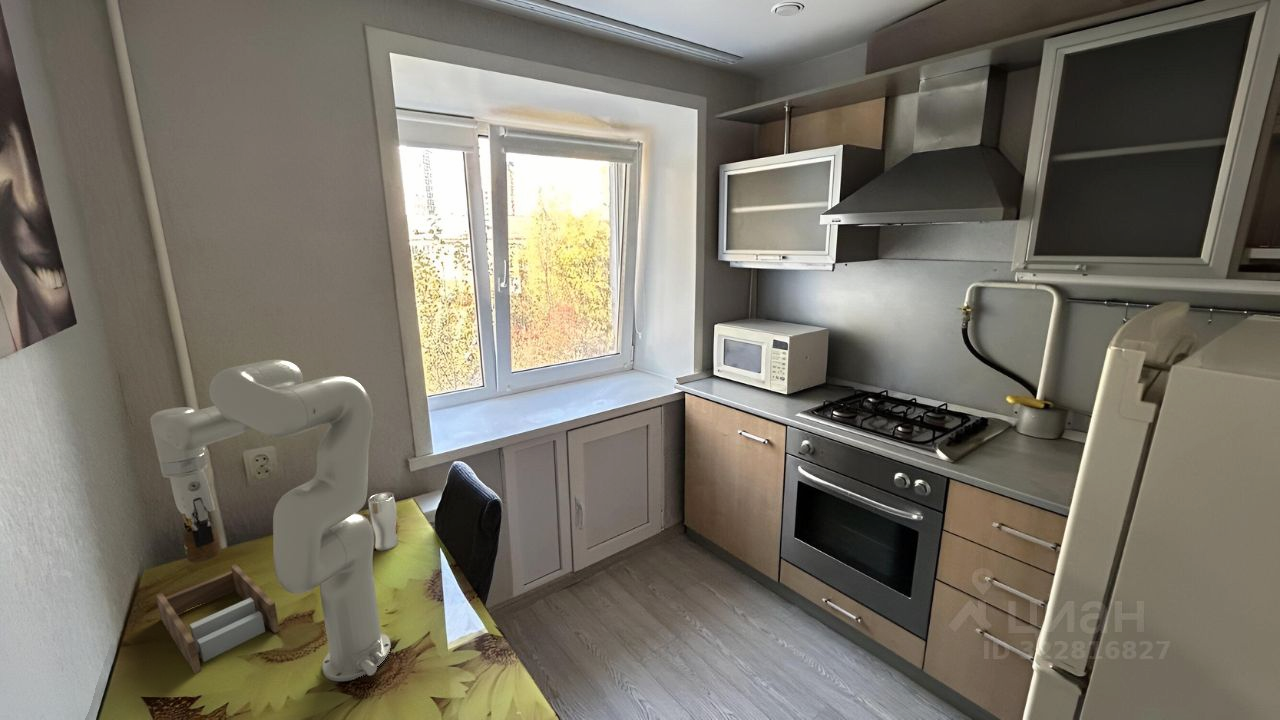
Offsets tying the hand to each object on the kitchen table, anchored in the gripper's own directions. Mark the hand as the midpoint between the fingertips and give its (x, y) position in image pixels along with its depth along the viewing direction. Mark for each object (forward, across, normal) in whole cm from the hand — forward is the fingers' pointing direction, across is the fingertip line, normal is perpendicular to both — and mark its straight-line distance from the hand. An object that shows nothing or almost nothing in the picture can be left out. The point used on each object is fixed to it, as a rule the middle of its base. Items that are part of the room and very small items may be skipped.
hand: (200, 539), depth 116 cm
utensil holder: (+4, 0, 0) cm, 4 cm away
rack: (+21, -2, 0) cm, 21 cm away
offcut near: (+21, -7, 0) cm, 22 cm away
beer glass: (+21, 0, -40) cm, 45 cm away
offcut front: (+21, -12, 0) cm, 24 cm away
